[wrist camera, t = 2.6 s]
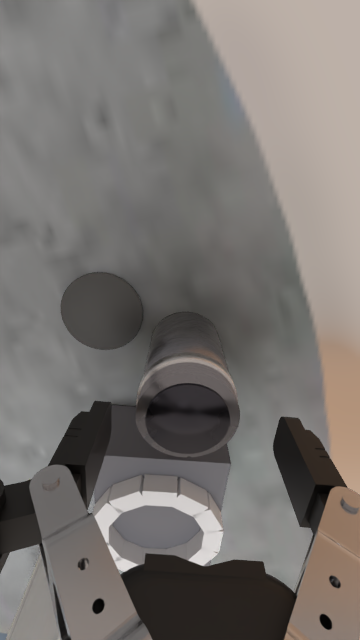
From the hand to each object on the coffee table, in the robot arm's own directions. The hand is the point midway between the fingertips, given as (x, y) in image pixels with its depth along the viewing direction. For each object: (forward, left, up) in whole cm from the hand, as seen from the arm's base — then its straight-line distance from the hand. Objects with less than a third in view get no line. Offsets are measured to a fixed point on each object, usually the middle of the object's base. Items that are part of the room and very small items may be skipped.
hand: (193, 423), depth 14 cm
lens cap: (-6, +2, -9) cm, 11 cm away
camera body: (-1, -12, -8) cm, 15 cm away
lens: (0, 0, -8) cm, 8 cm away
